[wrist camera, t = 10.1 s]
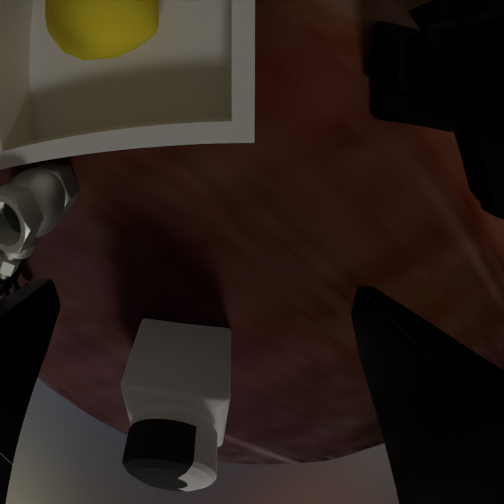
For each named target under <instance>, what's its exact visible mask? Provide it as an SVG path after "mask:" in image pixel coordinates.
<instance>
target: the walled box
mask: <svg viewBox="0 0 504 504" xmlns="http://www.w3.org/2000/svg"><path fill="white" fill-rule="evenodd" d="M158 7H159V22H158V30H157V33H156V34H155V35H154V36H153V37H152V38H151V39H149V40H148V41H146V42H145V43H143V44H142V45H141V46H139V47H138V48H136V49H134V50H132V51H130V52H128V53H126V54H124V55H122V56H120V57H118V58H110V59H97V60H81V59H79V58H76V57H74V56H71V55H69V54H66V53H64V52H63V51H62V50H61V49H60V48H59V46H58V45H57V44H56V42H55V41H54V40H53V38H52V37H51V36H50V34H49V33H48V31H47V27H46V21H45V0H0V169H4V168H9V167H14V166H18V165H23V164H28V163H34V162H39V161H45V160H50V159H56V158H62V157H69V156H75V155H82V154H90V153H97V152H105V151H114V150H123V149H133V148H144V147H156V146H170V145H187V144H210V143H254V114H255V0H158Z"/></svg>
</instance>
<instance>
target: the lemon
mask: <svg viewBox="0 0 504 504" xmlns="http://www.w3.org/2000/svg"><path fill="white" fill-rule="evenodd" d="M45 21H46V27H47V31H48V33H49V34H50V36H51V37H52V38H53V40H54V41H55V42H56V44H57V45H58V46H59V48H60V49H61V50H62V51H63V52H64V53H66V54H69V55H71V56H74V57H76V58H79V59H81V60H97V59H110V58H118V57H120V56H122V55H124V54H126V53H128V52H130V51H132V50H134V49H136V48H138V47H139V46H141V45H142V44H143V43H145V42H146V41H148V40H149V39H151V38H152V37H153V36H154V35H155V34H156V33H157V30H158V22H159V7H158V0H45Z"/></svg>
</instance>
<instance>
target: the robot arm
mask: <svg viewBox="0 0 504 504" xmlns="http://www.w3.org/2000/svg"><path fill="white" fill-rule="evenodd" d="M408 12H409V14H410V15H411V17H412V19H413V21H416V23H417V25H418V27H419V29H420V31H419V30H415V29H412V28H408V27H405V26H401V25H397V24H393V23H389V22H385V21H378V22H376V23H374V25H373V46H371V47H370V49H369V86H370V87H371V88H372V101H371V114H372V116H373V117H374V118H376V119H379V120H385V121H392V122H399V123H405V124H412V125H417V126H423V127H429V128H434V129H439V130H444V131H449V132H453V131H454V134H455V137H456V141H457V144H458V147H459V151H460V154H461V158H462V162H463V165H464V169H465V173H466V177H467V181H468V185H469V189H470V191H471V192H472V193H473V194H474V196H475V197H476V198H477V199H478V200H479V201H480V203H481V208H482V209H483V210H485V211H486V212H488V213H490V214H492V215H493V216H496V217H498V218H501V219H504V0H433V1H430V2H428V3H425V4H423V5H421V6H418V7H416V8H414V9H412V10H409V11H408ZM379 25H380V26H382V27H383V29H384V31H383V32H382V31H380V29H379ZM379 108H381V110H382V114H381V115H378V114H377V110H378V109H379ZM59 310H60V300H59V297H58V294H57V291H56V288H55V284H54V282H53V281H52V280H51V279H39V280H37V281H35V282H33V283H31V284H29V285H27V286H25V287H23V288H21V289H19V290H17V291H16V292H14V293H12V294H10V295H8V296H6V297H4V298H2V299H1V300H0V504H5V503H6V497H7V491H8V485H9V480H10V475H11V470H12V464H13V460H14V455H15V451H16V446H17V443H18V439H19V435H20V431H21V428H22V424H23V421H24V417H25V414H26V411H27V407H28V404H29V401H30V398H31V395H32V391H33V388H34V386H35V383H36V380H37V377H38V374H39V371H40V369H41V366H42V363H43V361H44V358H45V355H46V352H47V350H48V347H49V343H50V340H51V336H52V333H53V330H54V326H55V323H56V320H57V317H58V314H59ZM351 316H352V321H353V326H354V331H355V336H356V341H357V346H358V351H359V356H360V360H361V364H362V367H363V371H364V374H365V377H366V380H367V384H368V387H369V390H370V393H371V397H372V400H373V403H374V407H375V410H376V414H377V417H378V421H379V424H380V428H381V432H382V435H383V439H384V443H385V446H386V450H387V454H388V458H389V461H390V466H391V470H392V474H393V478H394V482H395V486H396V489H397V496H398V500H399V504H504V370H503V369H501V368H500V367H498V366H496V365H495V364H493V363H491V362H490V361H488V360H486V359H484V358H483V357H481V356H480V355H478V354H477V353H475V352H474V351H472V350H470V349H469V348H467V347H466V346H465V345H463V344H460V343H459V342H458V341H457V340H455V339H454V338H452V337H451V336H449V335H448V334H446V333H445V332H443V331H442V330H440V329H439V328H437V327H436V326H434V325H432V324H431V323H429V322H428V321H426V320H425V319H423V318H422V317H420V316H419V315H417V314H415V313H414V312H412V311H411V310H409V309H408V308H406V307H404V306H403V305H401V304H400V303H398V302H397V301H395V300H393V299H392V298H390V297H389V296H387V295H385V294H384V293H382V292H381V291H379V290H377V289H376V288H374V287H373V286H360V287H359V288H358V289H357V291H356V295H355V299H354V303H353V307H352V312H351Z"/></svg>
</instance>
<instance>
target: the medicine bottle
mask: <svg viewBox="0 0 504 504" xmlns="http://www.w3.org/2000/svg"><path fill="white" fill-rule="evenodd" d="M230 366H231V331H230V329H229V328H223V327H213V326H203V325H194V324H186V323H177V322H169V321H162V320H154V319H147V318H144V319H143V320H142V321H141V324H140V326H139V329H138V332H137V335H136V338H135V341H134V344H133V347H132V350H131V353H130V356H129V359H128V362H127V365H126V368H125V371H124V374H123V377H122V381H121V390H122V394H123V398H124V402H125V406H126V409H127V413H128V416H129V420H130V428H129V432H128V437H127V441H126V446H125V450H124V455H123V460H122V463H123V465H124V467H125V468H126V470H127V471H128V473H129V474H131V475H132V476H133V477H135V478H137V479H138V480H140V481H141V482H143V483H145V484H148V485H150V486H153V487H157V488H160V489H165V490H171V491H193V490H197V489H202V488H205V487H207V486H209V485H211V484H212V483H213V482H214V481H215V480H216V477H217V447H219V446H221V445H222V443H223V438H224V432H225V426H226V420H227V414H228V408H229V402H230Z"/></svg>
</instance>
